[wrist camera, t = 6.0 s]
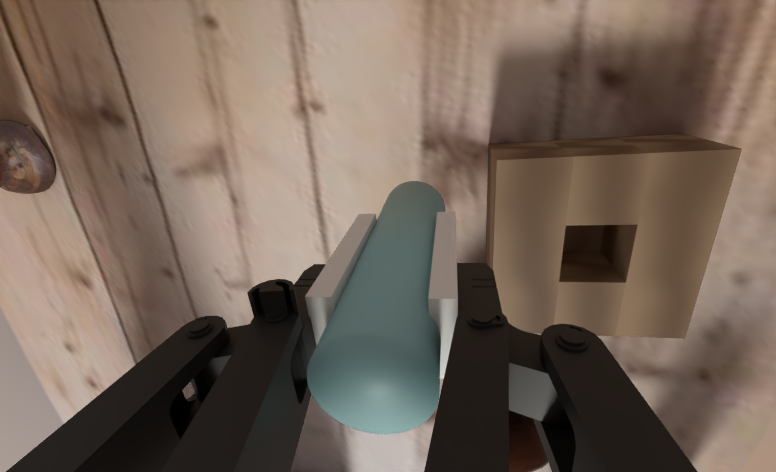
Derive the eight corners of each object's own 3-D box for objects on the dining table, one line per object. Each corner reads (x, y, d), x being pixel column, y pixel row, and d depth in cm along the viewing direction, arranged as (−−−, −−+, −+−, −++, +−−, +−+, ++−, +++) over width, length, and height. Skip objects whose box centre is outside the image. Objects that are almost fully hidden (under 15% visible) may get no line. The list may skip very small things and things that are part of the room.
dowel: (388, 237, 20) (318, 429, 10) (382, 182, 19) (294, 331, 8) (446, 236, 20) (441, 438, 9) (444, 179, 18) (436, 335, 8)
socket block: (484, 291, 35) (490, 331, 30) (488, 144, 29) (496, 160, 24) (646, 294, 33) (684, 338, 27) (683, 133, 27) (741, 148, 22)
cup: (449, 404, 41) (452, 487, 31) (443, 332, 38) (444, 399, 29) (531, 403, 39) (561, 490, 30) (530, 329, 37) (562, 398, 27)
